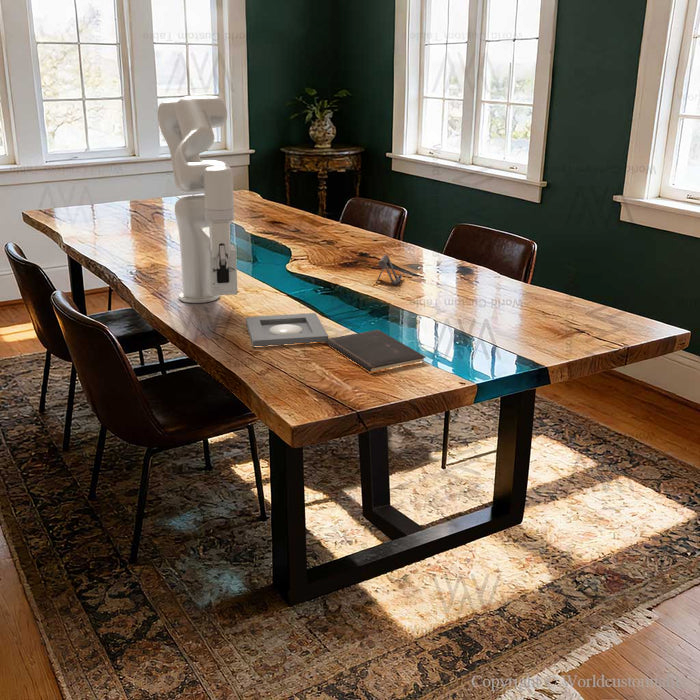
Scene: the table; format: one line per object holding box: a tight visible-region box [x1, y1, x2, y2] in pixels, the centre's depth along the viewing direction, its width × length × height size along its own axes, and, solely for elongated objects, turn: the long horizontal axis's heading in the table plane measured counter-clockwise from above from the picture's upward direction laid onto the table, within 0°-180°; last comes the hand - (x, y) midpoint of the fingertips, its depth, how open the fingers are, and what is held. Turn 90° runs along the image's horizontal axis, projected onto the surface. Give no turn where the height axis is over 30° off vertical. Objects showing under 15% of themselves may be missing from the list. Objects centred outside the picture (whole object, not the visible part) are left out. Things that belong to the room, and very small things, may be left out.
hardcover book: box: [325, 329, 427, 372], centre depth 203 cm, size 16×23×2 cm
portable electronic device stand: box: [375, 254, 403, 287], centre depth 266 cm, size 9×8×8 cm
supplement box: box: [206, 243, 238, 296], centre depth 216 cm, size 7×7×13 cm
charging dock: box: [245, 312, 329, 348], centre depth 217 cm, size 20×20×2 cm
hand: (222, 277), depth 216 cm, fingers closed on supplement box, 7 cm apart
